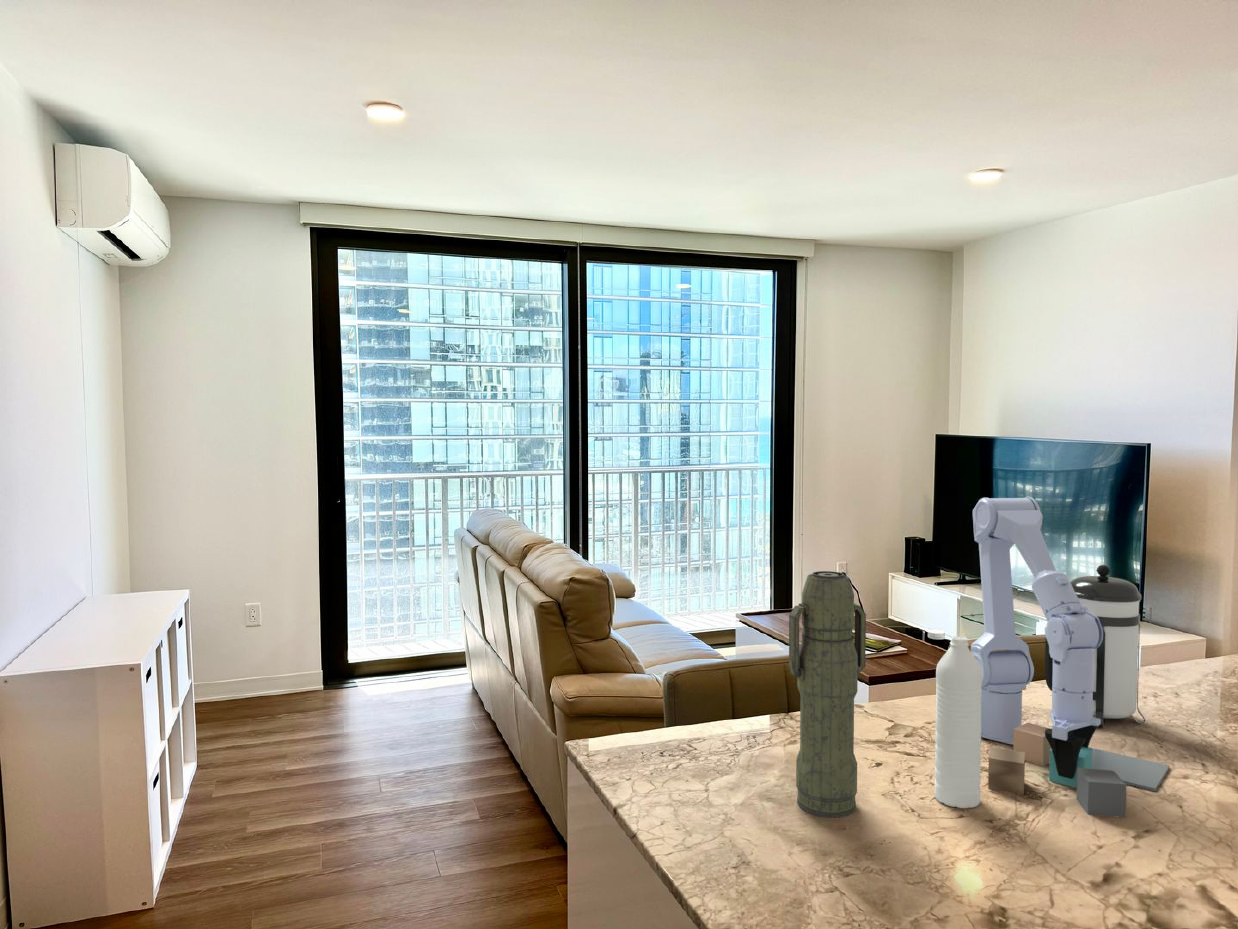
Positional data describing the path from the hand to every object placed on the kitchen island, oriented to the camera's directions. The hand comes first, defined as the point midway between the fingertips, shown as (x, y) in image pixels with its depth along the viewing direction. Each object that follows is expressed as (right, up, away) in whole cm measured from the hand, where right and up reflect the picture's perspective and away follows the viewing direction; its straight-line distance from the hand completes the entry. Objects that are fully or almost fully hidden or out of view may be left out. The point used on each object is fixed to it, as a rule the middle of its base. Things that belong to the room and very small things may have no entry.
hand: (1070, 771), depth 134 cm
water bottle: (-22, -2, -6) cm, 23 cm away
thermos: (-41, -2, -8) cm, 42 cm away
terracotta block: (-1, -1, +9) cm, 9 cm away
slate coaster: (+10, -1, +4) cm, 11 cm away
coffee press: (+20, 0, +29) cm, 35 cm away
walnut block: (-11, -2, -2) cm, 12 cm away
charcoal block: (-1, -2, -10) cm, 10 cm away
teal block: (0, -1, 0) cm, 1 cm away
